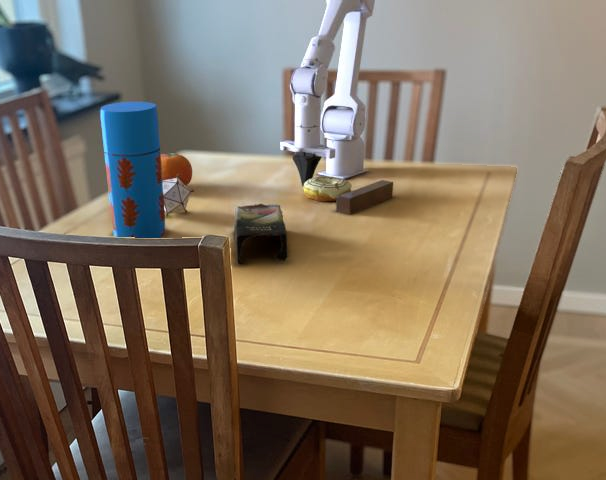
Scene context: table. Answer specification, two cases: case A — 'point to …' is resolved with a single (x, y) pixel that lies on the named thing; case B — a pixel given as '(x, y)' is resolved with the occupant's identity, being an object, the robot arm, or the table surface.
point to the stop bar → (364, 197)
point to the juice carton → (259, 226)
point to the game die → (175, 195)
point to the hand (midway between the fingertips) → (306, 185)
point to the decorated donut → (326, 188)
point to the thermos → (134, 169)
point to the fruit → (176, 167)
